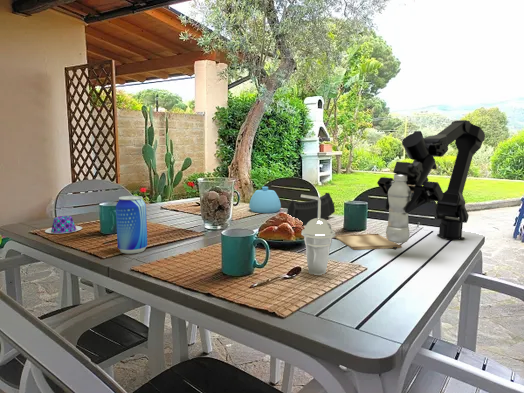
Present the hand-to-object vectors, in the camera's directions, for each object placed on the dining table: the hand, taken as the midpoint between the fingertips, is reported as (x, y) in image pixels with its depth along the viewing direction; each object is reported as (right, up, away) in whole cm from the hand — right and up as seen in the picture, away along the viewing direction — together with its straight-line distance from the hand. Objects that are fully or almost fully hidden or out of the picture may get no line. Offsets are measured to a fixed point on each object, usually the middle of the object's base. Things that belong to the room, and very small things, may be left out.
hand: (396, 210), depth 109 cm
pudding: (-110, -9, +28) cm, 114 cm away
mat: (-4, -11, +16) cm, 20 cm away
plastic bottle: (+1, -10, +2) cm, 10 cm away
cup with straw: (-25, -15, -13) cm, 32 cm away
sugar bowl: (-37, -3, +71) cm, 80 cm away
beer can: (-77, -12, +4) cm, 78 cm away
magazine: (-18, -7, +46) cm, 50 cm away
